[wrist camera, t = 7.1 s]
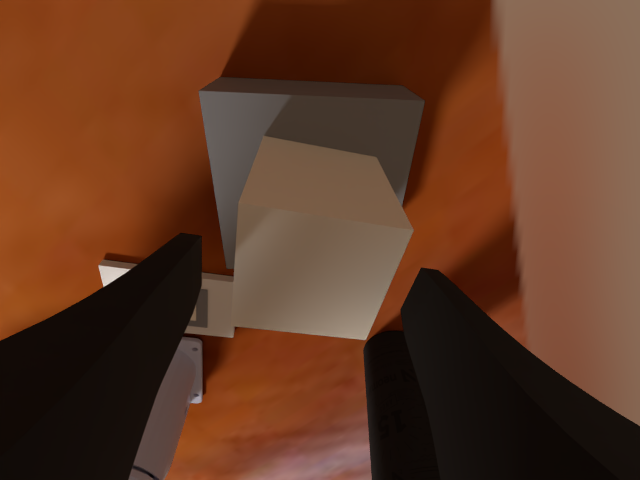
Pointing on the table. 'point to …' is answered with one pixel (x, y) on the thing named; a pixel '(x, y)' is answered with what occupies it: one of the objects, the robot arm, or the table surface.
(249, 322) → the cream block
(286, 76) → the table surface
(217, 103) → the gray block
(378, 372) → the drinking cup
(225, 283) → the tile
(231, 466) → the table surface
